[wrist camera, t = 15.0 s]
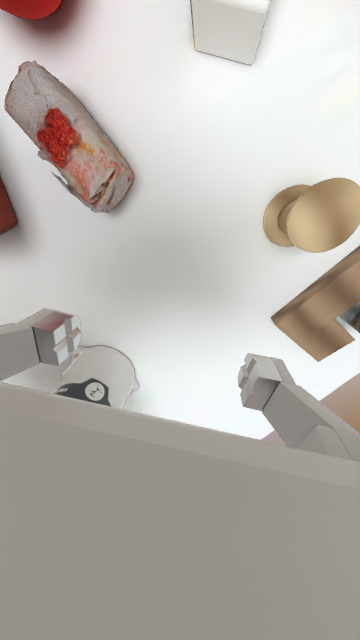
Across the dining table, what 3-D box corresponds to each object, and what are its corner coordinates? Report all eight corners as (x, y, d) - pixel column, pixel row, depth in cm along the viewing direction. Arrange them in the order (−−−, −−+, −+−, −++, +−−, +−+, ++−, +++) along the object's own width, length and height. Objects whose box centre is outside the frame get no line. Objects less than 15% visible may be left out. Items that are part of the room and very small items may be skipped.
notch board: (311, 352, 40) (318, 361, 37) (270, 317, 37) (275, 325, 35) (426, 279, 31) (446, 285, 28) (382, 227, 28) (400, 228, 26)
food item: (145, 178, 30) (118, 162, 21) (113, 217, 33) (79, 218, 24) (72, 86, 26) (4, 21, 17) (45, 140, 29) (-24, 108, 20)
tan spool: (286, 256, 32) (315, 271, 23) (251, 222, 30) (268, 225, 21) (333, 212, 28) (388, 210, 19) (296, 171, 27) (339, 149, 18)
